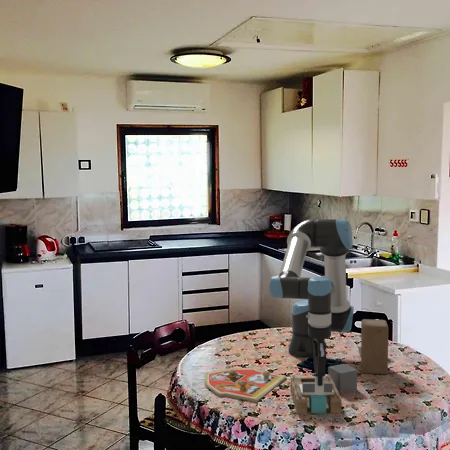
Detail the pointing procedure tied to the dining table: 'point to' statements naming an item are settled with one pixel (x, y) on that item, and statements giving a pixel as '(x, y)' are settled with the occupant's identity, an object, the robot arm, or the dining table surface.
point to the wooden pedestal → (303, 400)
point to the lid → (309, 388)
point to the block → (317, 403)
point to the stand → (343, 377)
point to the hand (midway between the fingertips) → (319, 393)
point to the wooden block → (374, 346)
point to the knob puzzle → (243, 383)
